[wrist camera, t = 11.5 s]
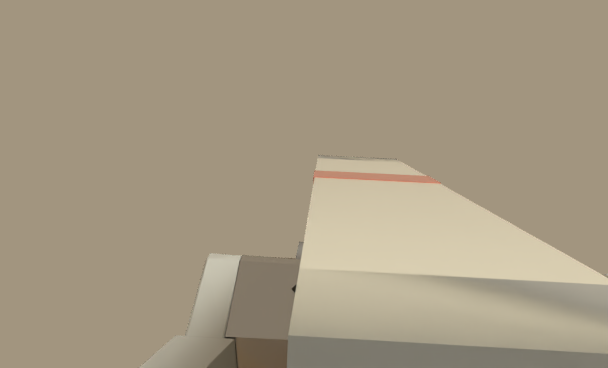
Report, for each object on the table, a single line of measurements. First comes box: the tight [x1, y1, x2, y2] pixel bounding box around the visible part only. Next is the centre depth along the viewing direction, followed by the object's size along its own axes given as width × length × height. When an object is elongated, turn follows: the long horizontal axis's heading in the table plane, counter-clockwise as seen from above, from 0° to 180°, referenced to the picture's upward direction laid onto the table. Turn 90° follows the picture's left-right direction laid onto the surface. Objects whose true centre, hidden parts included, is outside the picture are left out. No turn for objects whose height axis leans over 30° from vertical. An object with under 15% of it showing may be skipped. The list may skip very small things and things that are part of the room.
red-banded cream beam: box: [287, 155, 608, 368], centre depth 15 cm, size 22×4×3 cm, turn 178°
